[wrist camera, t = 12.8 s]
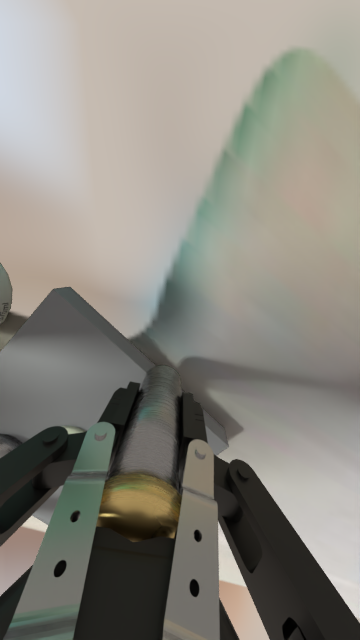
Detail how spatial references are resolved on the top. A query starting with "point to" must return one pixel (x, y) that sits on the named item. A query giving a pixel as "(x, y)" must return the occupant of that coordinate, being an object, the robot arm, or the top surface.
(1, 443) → the crank
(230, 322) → the top surface
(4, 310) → the supplement can
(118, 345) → the board
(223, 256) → the top surface
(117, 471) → the crank
